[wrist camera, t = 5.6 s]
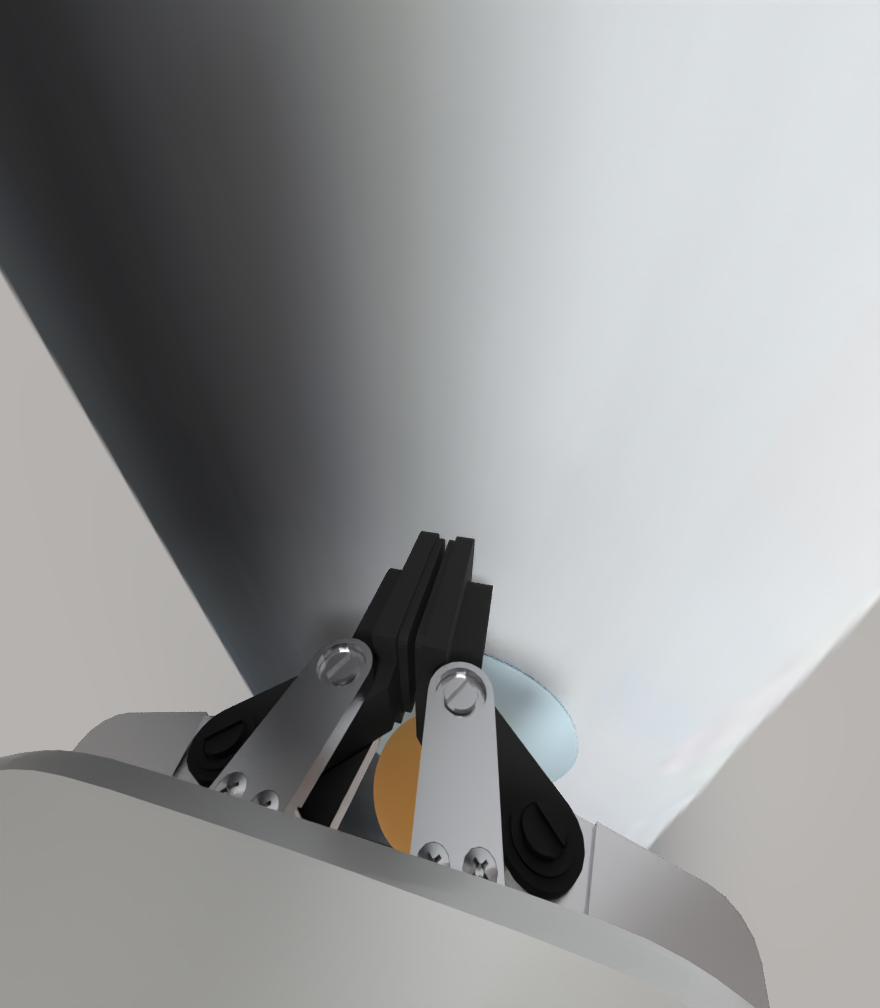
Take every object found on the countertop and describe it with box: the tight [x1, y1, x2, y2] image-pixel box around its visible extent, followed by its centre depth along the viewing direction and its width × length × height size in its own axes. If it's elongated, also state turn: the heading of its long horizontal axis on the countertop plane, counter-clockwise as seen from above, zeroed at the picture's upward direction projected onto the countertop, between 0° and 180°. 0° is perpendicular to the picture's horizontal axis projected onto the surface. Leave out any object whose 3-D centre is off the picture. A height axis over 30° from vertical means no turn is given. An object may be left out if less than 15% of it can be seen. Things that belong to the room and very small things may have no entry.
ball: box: [373, 716, 422, 854], centre depth 16 cm, size 6×6×6 cm
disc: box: [376, 655, 578, 782], centre depth 18 cm, size 13×13×1 cm
